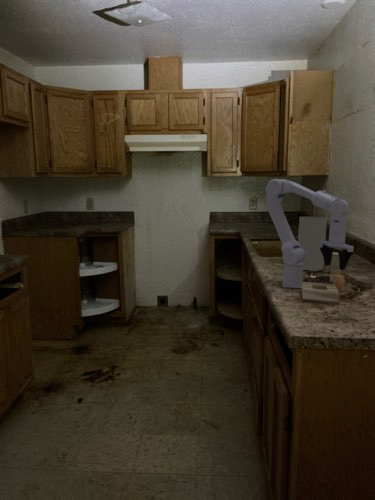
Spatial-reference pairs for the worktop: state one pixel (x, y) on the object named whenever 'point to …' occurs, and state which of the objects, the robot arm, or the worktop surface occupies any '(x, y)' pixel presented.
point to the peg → (338, 282)
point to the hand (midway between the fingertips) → (334, 267)
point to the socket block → (320, 293)
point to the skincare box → (336, 268)
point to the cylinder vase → (312, 241)
